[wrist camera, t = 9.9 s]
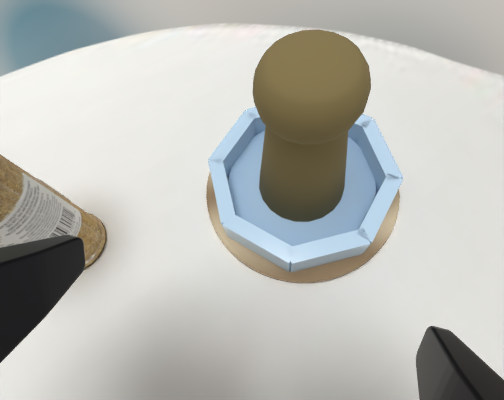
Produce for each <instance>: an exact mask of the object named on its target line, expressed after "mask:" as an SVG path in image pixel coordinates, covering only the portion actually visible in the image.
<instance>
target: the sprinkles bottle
mask: <svg viewBox="0 0 504 400" xmlns="http://www.w3.org/2000/svg"><path fill="white" fill-rule="evenodd" d="M61 235H72V236H76V237H80V238H81V239H82V240H83V242H84V251H85V268H86V267H87V266H88V265H90V264H91V263H93V262H94V261H95V259H96V258H97V257H98V256H99V254H100V252H101V251H102V249H103V246H104V243H105V238H106V237H105V229H104V227H103V224H102V222H101V221H100V220H99V219H98V218H96V217H95V216H94V215H92V214H88V213H86V212H85V211H83V210H82V209H80V208H79V207H78V206H76V205H75V204H73V203H72V202H71V201H70V200H69V199H68V198H66V197H65V196H63V195H62V194H61V193H59V192H58V191H56V190H55V189H53V188H52V187H50V186H49V185H47V184H46V183H44V182H43V181H41V180H39V179H37V178H35V177H33V176H32V175H30V174H29V173H27V172H26V171H24V170H23V169H21V168H20V167H18V166H16V165H15V164H14V163H12V162H10V161H9V160H7V159H6V158H5V157H3V156H2V155H0V248H1V247H6V246H11V245H16V244H21V243H26V242H31V241H36V240H41V239H46V238H51V237H56V236H61Z"/></svg>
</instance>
